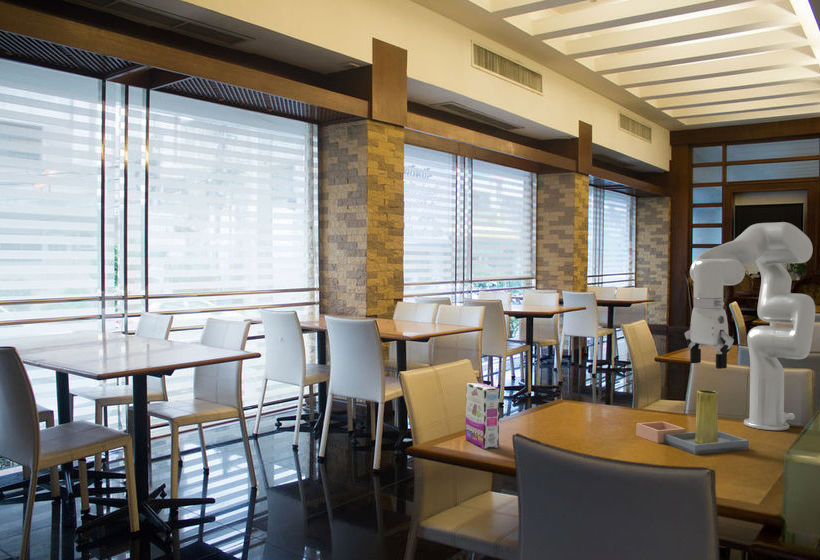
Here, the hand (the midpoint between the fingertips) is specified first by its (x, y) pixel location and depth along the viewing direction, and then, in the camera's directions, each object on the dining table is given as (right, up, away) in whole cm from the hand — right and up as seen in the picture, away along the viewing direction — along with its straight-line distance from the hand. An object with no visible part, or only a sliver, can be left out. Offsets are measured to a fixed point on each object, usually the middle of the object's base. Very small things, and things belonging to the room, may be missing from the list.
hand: (708, 365), depth 185 cm
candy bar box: (-63, -22, +1) cm, 67 cm away
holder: (-10, -22, +9) cm, 26 cm away
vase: (0, -22, 0) cm, 22 cm away
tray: (-1, -23, 0) cm, 23 cm away
